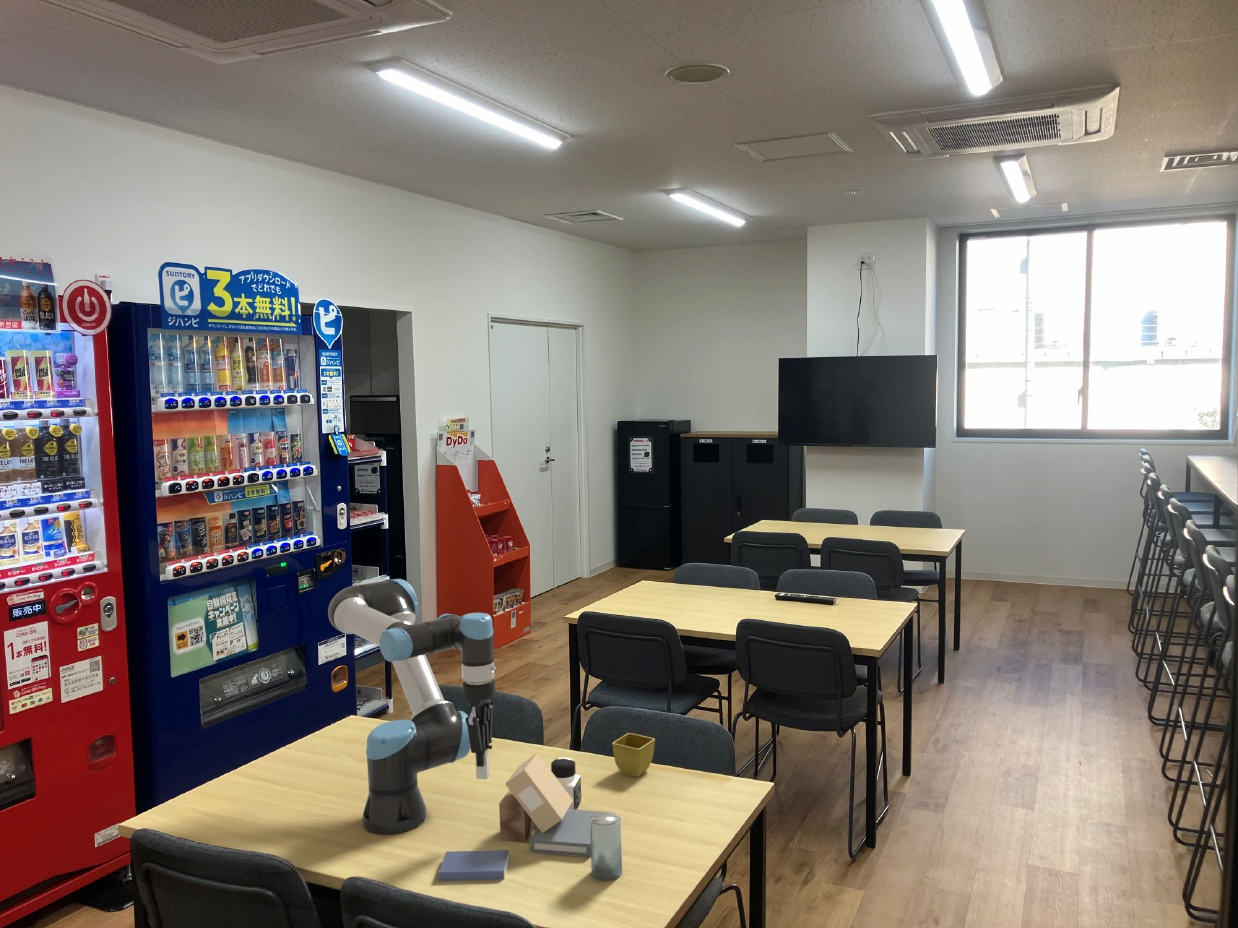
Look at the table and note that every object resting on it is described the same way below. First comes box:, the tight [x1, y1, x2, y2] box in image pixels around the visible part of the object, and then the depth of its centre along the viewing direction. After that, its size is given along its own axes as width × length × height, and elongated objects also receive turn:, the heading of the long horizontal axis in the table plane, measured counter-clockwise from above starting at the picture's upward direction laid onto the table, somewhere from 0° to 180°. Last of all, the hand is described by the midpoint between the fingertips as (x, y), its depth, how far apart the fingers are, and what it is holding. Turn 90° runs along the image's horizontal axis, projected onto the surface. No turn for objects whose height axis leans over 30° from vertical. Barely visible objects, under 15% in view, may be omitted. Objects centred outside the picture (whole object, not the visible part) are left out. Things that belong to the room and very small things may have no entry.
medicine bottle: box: [550, 757, 582, 810], centre depth 230 cm, size 7×7×12 cm
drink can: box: [590, 811, 623, 882], centre depth 197 cm, size 7×7×12 cm
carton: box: [504, 752, 573, 833], centre depth 215 cm, size 6×10×14 cm
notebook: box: [437, 849, 510, 882], centre depth 201 cm, size 14×9×2 cm, turn 90°
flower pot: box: [611, 732, 656, 778], centre depth 249 cm, size 9×9×9 cm
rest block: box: [498, 789, 537, 844], centre depth 216 cm, size 6×8×9 cm
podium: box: [529, 809, 603, 858], centre depth 214 cm, size 14×16×3 cm
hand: (482, 777), depth 217 cm, fingers closed
